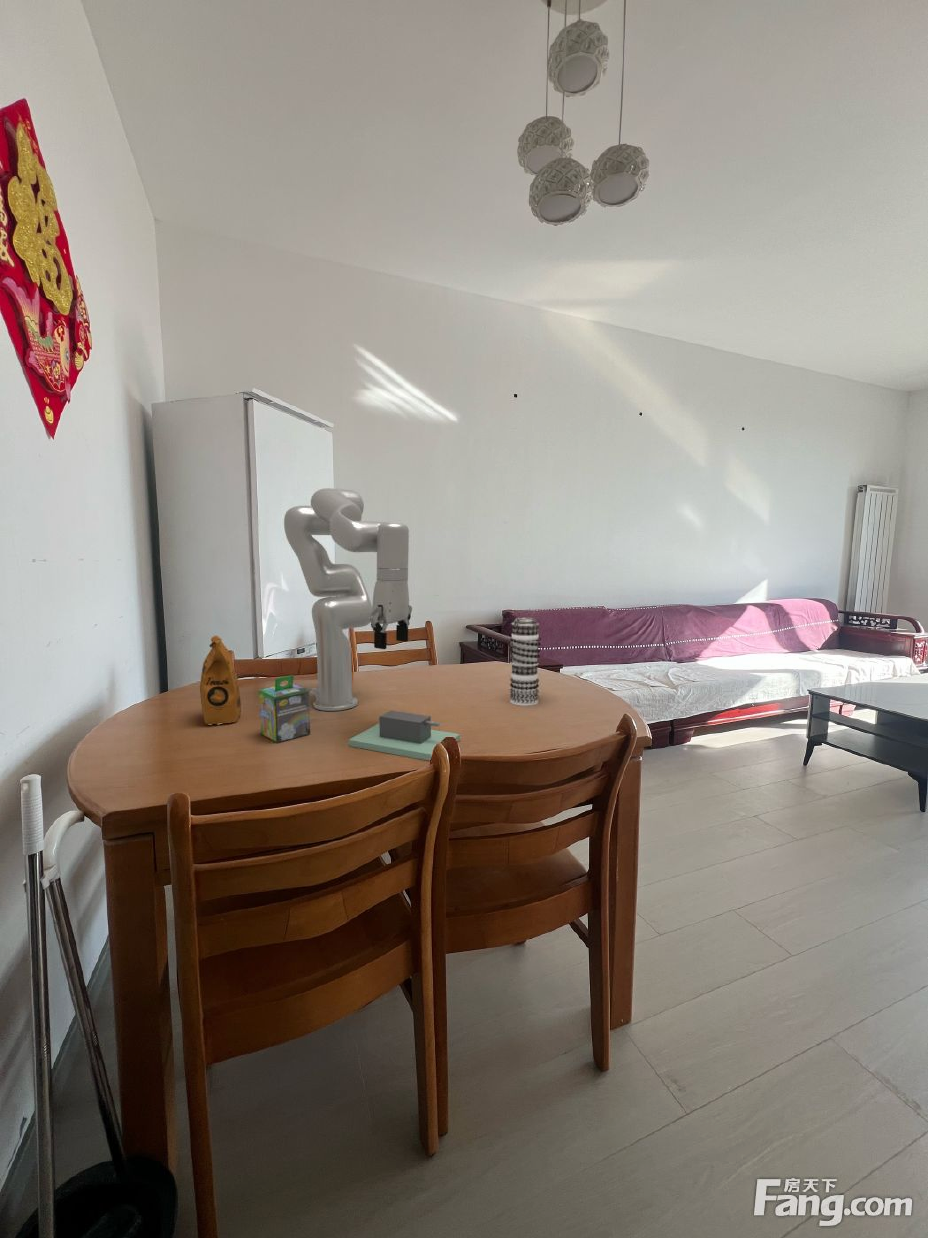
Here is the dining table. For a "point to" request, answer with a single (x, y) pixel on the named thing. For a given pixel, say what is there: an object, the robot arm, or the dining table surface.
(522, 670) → the decorative candle
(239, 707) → the coffee package
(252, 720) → the dining table surface
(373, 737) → the header board
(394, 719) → the plug housing
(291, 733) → the chalk box
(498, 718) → the dining table surface
